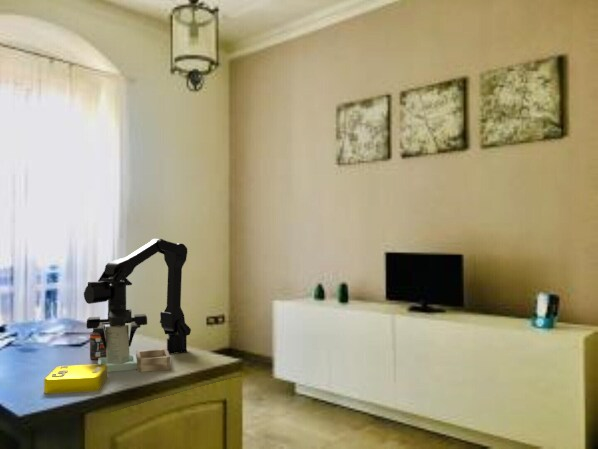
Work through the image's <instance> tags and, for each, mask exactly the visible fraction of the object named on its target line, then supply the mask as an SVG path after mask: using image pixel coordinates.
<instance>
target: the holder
mask: <svg viewBox="0 0 598 449" xmlns="http://www.w3.org/2000/svg"><path fill="white" fill-rule="evenodd" d="M135 353H136V354H135V355H136V359H137V369H136V370H137V373H144V372H153V371H154V372H155V371H165V370H171V355H170V353H169V352H168V351H167V348H160V349H159V348H158V349H148V350H136V352H135Z"/></svg>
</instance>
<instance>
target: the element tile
mask: <svg viewBox="0 0 598 449" xmlns="http://www.w3.org/2000/svg"><path fill="white" fill-rule="evenodd" d="M43 380H44V381H43V390H44V392H43V393H44V394H48V395H49V394H52V395H53V394H69V393H70V392H71V393H85V392H84V391H88V392H95V391H96V390H97V391H99V390H101V389H102V387H103V386H104V384H105V383H106V381H107V380H108V372H107V365H106V364H98V363H97V364H95V363H93V364H74V365H60V366H56V367H55V368H54V369H52V370H51V372H49V374H48V375H47V376H46V377H44V379H43ZM100 388H101V389H100Z"/></svg>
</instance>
